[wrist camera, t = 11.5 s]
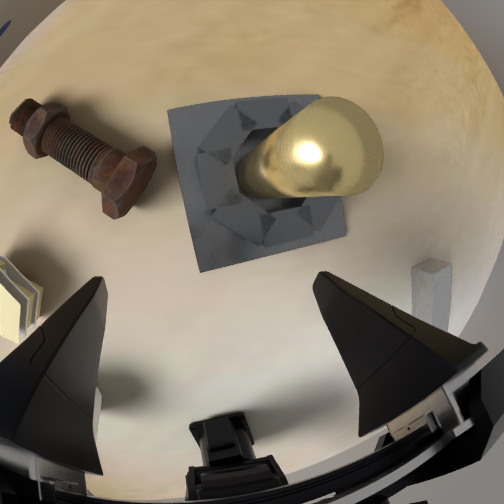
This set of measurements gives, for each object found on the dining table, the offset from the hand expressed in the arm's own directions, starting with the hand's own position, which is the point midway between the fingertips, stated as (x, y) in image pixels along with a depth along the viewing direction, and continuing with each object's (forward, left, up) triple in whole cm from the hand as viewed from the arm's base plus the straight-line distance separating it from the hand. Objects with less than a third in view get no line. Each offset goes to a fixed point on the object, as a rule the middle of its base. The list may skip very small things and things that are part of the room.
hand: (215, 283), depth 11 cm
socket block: (+5, -6, -12) cm, 15 cm away
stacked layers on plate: (0, +19, -13) cm, 23 cm away
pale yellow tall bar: (+5, -6, -12) cm, 14 cm away
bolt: (+11, +9, -13) cm, 19 cm away
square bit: (-13, -25, -13) cm, 31 cm away
